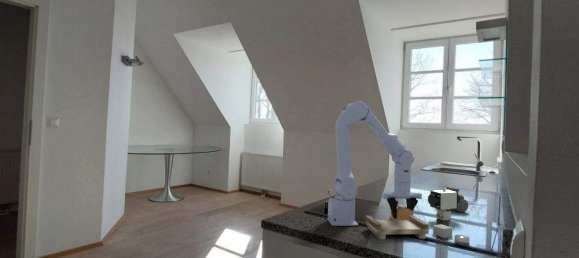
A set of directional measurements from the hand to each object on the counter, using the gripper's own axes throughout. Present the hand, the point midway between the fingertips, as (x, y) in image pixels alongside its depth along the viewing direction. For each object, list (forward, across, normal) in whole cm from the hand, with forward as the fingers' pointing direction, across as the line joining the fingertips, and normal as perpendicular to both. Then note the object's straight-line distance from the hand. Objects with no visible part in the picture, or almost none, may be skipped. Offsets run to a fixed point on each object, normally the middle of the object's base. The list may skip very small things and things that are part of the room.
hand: (401, 217), depth 116 cm
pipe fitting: (+2, -31, -17) cm, 35 cm away
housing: (+1, 0, 0) cm, 1 cm away
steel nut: (+2, -9, +22) cm, 24 cm away
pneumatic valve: (+2, -18, -3) cm, 18 cm away
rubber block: (+2, -7, +15) cm, 17 cm away
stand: (+1, +8, +13) cm, 15 cm away
